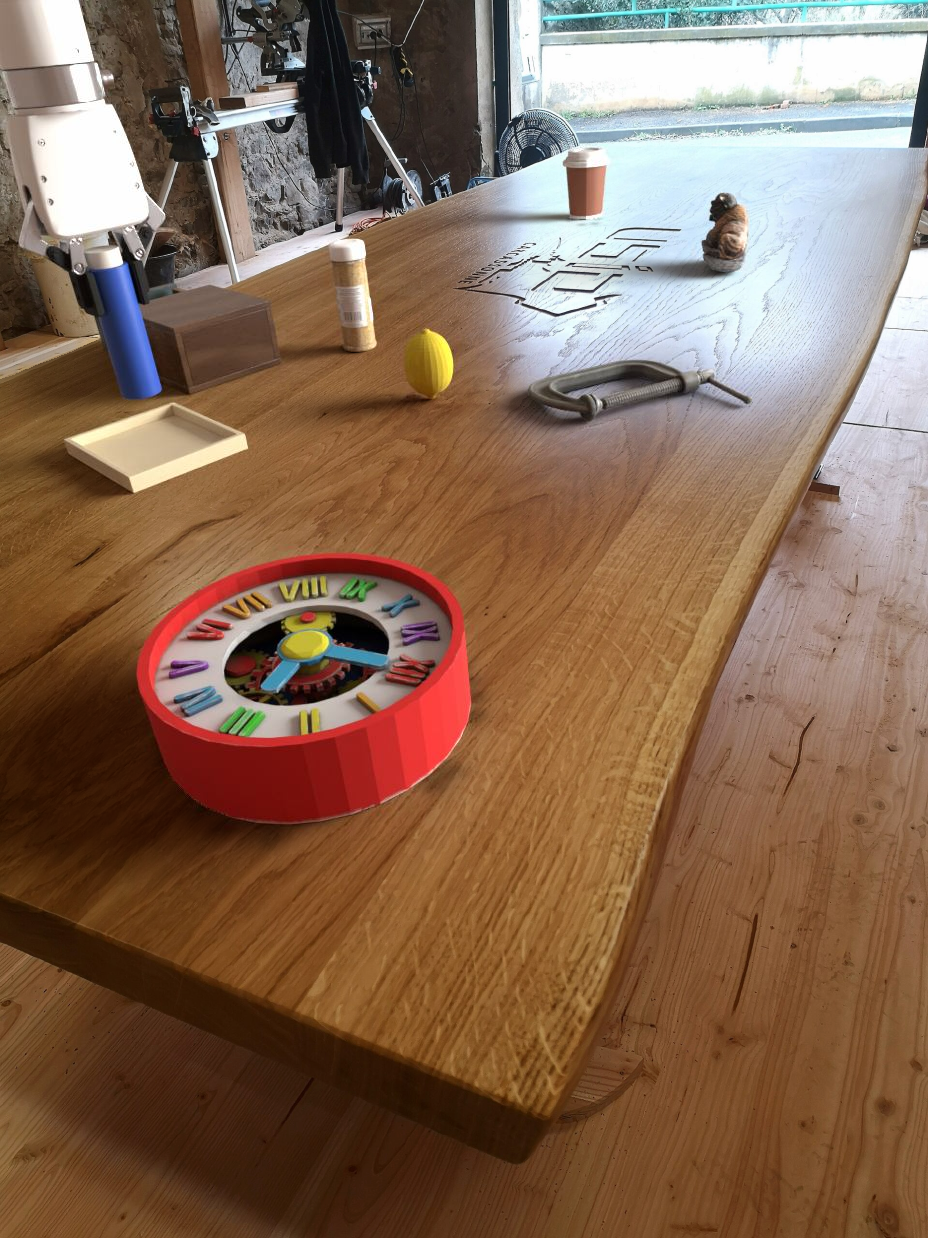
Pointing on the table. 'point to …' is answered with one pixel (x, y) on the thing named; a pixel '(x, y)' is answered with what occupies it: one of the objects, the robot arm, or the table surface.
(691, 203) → the table surface
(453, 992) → the table surface
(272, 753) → the toy clock
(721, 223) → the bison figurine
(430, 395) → the lemon
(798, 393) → the table surface
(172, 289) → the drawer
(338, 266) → the sprinkles bottle
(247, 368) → the cabinet
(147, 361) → the water bottle
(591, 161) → the coffee cup
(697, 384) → the c clamp
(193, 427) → the tray
